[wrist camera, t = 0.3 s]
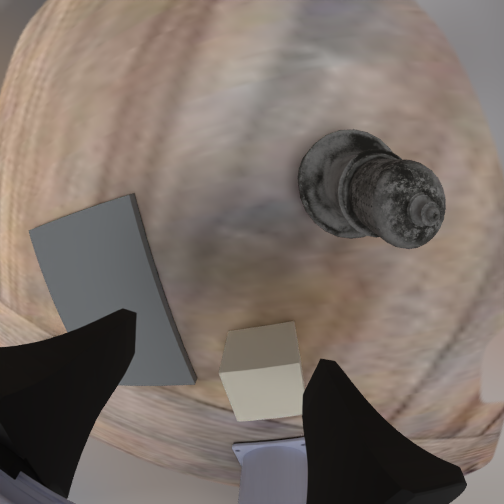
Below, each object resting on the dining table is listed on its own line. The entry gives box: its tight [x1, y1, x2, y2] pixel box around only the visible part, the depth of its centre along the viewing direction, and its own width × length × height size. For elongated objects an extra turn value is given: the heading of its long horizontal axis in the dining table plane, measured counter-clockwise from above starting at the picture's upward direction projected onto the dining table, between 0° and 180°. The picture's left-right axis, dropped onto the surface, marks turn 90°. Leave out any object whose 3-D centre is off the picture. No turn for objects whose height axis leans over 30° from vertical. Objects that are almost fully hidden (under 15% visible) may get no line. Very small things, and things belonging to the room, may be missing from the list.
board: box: [29, 193, 197, 386], centre depth 21 cm, size 16×11×1 cm
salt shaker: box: [298, 129, 446, 249], centre depth 12 cm, size 6×6×12 cm
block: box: [219, 321, 305, 422], centre depth 20 cm, size 5×5×5 cm
